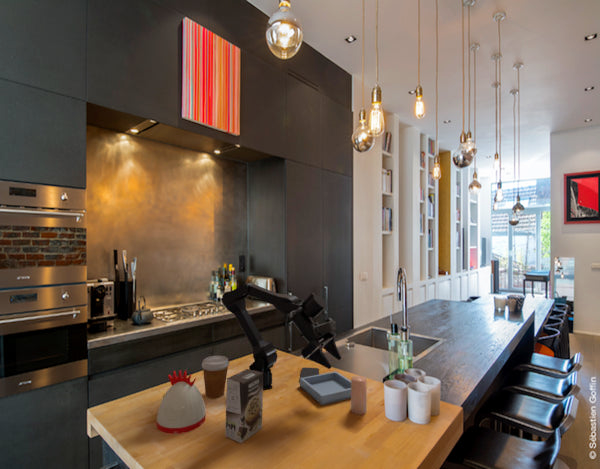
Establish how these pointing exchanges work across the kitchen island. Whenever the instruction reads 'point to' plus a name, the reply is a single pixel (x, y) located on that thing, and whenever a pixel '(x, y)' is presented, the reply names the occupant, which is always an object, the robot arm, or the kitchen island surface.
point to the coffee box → (244, 405)
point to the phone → (309, 372)
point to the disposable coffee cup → (215, 375)
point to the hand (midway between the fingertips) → (335, 363)
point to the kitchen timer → (181, 406)
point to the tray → (327, 387)
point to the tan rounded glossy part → (358, 395)
